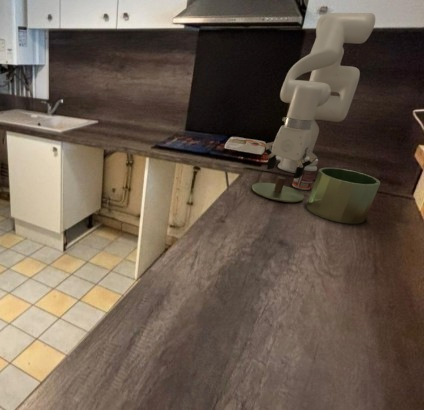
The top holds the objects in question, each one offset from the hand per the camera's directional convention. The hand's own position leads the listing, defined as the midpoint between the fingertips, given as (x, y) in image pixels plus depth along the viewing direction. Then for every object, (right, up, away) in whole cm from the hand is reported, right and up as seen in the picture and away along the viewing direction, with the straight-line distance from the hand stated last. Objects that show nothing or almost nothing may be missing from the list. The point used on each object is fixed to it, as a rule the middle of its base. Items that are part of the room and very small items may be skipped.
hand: (283, 173), depth 124 cm
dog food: (+13, +17, +58) cm, 62 cm away
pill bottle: (+13, -5, +11) cm, 17 cm away
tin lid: (-1, -7, +2) cm, 7 cm away
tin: (+11, -13, -10) cm, 20 cm away
